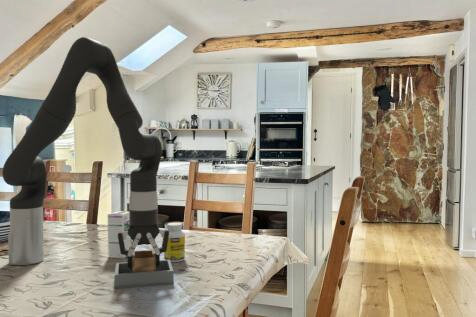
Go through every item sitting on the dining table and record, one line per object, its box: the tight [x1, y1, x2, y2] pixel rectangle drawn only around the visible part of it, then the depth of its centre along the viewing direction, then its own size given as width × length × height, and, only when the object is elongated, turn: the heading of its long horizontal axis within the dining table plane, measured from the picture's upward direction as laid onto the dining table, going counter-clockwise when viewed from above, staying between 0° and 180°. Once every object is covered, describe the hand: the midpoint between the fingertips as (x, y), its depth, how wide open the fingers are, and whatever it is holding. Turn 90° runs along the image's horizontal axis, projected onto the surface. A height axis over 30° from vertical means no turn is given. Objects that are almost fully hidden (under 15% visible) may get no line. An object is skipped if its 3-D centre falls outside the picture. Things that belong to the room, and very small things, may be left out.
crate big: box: [114, 259, 174, 289], centre depth 114 cm, size 15×11×4 cm
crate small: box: [132, 249, 156, 273], centre depth 114 cm, size 6×8×4 cm
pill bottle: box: [163, 222, 186, 263], centre depth 132 cm, size 6×6×12 cm
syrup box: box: [107, 210, 133, 259], centre depth 137 cm, size 6×6×14 cm
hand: (143, 268), depth 114 cm, fingers closed on crate small, 6 cm apart
